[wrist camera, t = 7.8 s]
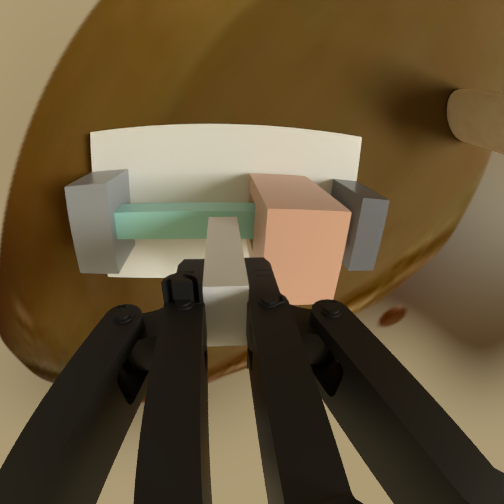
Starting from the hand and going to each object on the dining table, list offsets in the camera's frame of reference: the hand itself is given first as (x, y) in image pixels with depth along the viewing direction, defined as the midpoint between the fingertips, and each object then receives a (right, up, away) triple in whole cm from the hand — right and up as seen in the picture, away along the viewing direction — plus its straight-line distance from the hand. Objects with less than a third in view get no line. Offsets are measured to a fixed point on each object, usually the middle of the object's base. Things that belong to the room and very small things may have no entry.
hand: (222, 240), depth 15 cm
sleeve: (+3, +2, +5) cm, 7 cm away
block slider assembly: (-1, +3, +6) cm, 7 cm away
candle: (+22, +13, +4) cm, 26 cm away
